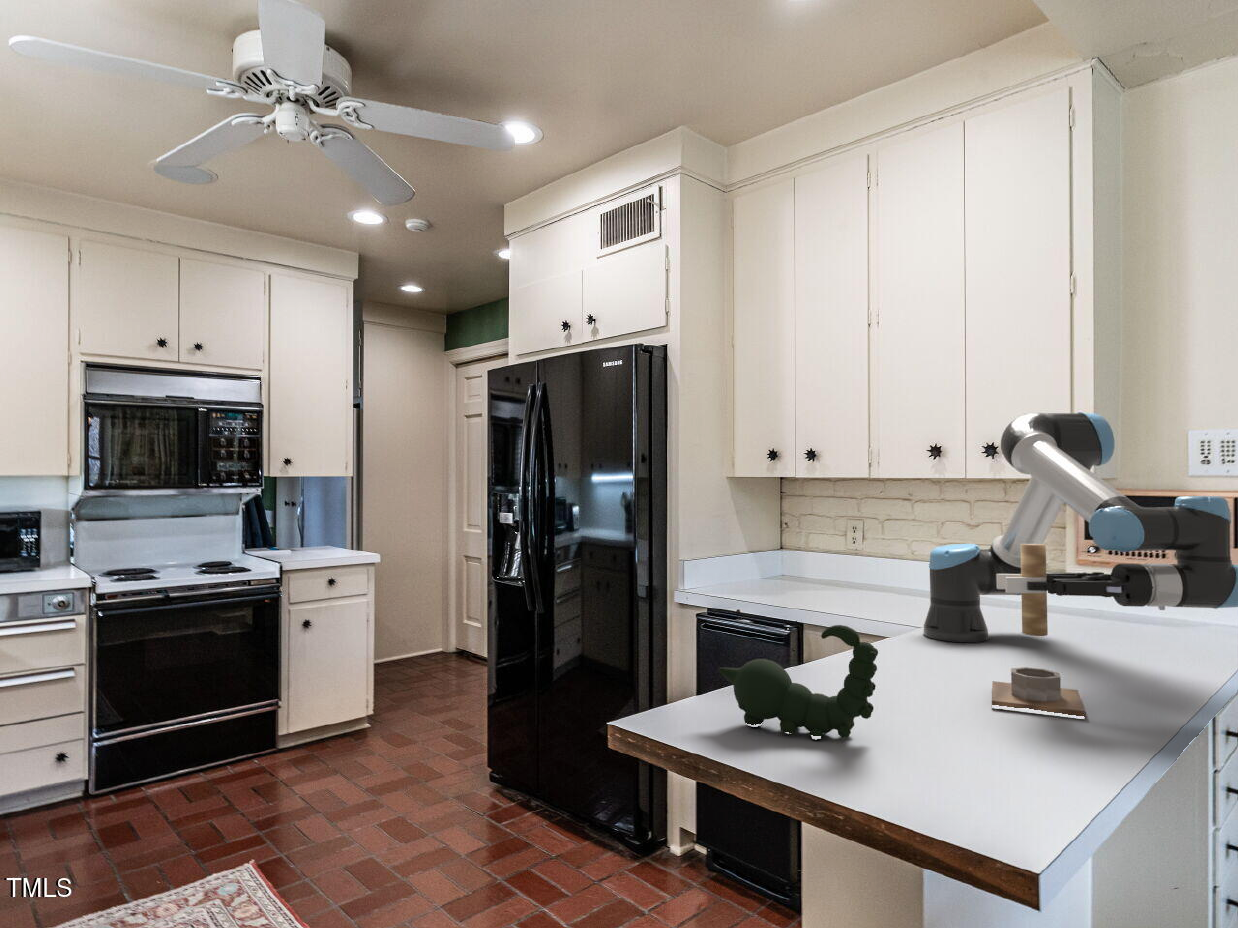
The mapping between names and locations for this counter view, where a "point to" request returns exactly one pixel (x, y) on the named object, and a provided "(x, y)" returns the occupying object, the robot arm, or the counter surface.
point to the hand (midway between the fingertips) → (1001, 583)
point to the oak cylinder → (1034, 602)
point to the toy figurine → (806, 691)
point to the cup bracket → (1037, 692)
